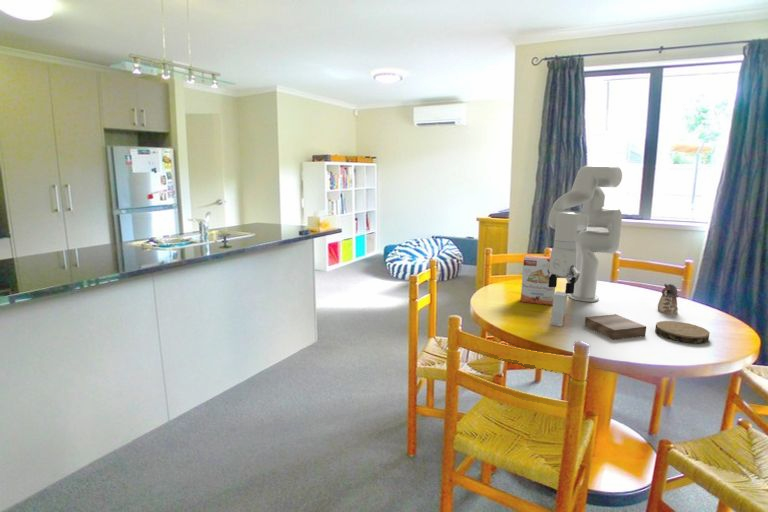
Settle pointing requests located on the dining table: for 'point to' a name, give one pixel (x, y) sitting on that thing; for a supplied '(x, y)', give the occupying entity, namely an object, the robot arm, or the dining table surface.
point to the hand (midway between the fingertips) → (560, 290)
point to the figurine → (668, 300)
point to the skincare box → (559, 308)
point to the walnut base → (615, 326)
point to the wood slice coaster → (682, 332)
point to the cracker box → (536, 281)
